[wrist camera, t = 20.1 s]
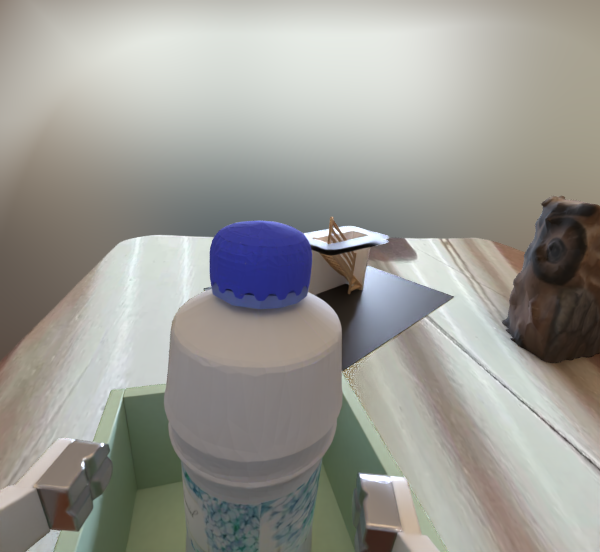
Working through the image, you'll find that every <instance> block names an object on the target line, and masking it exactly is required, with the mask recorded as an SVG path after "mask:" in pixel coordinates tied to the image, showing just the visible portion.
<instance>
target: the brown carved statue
mask: <svg viewBox="0 0 600 552" xmlns="http://www.w3.org/2000/svg"><path fill="white" fill-rule="evenodd" d="M542 206H543V211H542V214H541V216H540V217H539V219H538V220H537V222H536V224H535V225H536V226H535V227H536V233H535V237H534V240H533V241H532V243H530V245H529V247H528V249H527V251H526V252H525V255H524V264H523V269H522V271H521V272H520V273H519V274H518V275H517V276H516V278H515V279H514V282H513V285H514V288H513V290H512V292H511V295H510V300H509V302H510V307H509V312H508V318H507V319H506V320H504V321H503V322H502V323H503V324H504V325H505V326H507V327H508V328H509V329H507V330H506V331H507V332H509V333H510V334H511V335H512V337H513V338H511V340H512V341H514V342H516V343H517V344H518V345H519V346H520V347H522V348H524V349H526V350H528V351H530V352H532V353H533V354H535V355H536V356H538V357H539V358H540V359H541V360H543V361H546V362H550V363H557V362H561V361H563V360H565V359H567V360H573V359H574V358H579V357H592V356H594V355H595V354H599V353H600V206H599V205H596V204H589V203H584V202H581V201H577V200H566V199H565V197H564V196H560V197H556V196H552V197H549V198H548V199H546V200H545V201H544V202H543V203H542Z"/></svg>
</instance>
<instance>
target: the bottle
mask: <svg viewBox="0 0 600 552" xmlns="http://www.w3.org/2000/svg"><path fill="white" fill-rule="evenodd" d="M311 269H312V249H311V245H310V243H309V241H308V239H307V238H306V236H305V235H304V234H303V233H302V232H300V231H298V230H297V229H295V228H293V227H291V226H288V225H285V224H281V223H277V222H272V221H245V222H238V223H233V224H231V225H228V226H226V227H225V228H222V229H221V230H220V231H219V232H218V233H217V234H216V235H215V237H214V239H213V240H212V244H211V247H210V280H211V286H212V289H210V290H207V291H204V292H201V293H200V294H198V295H196V296H194V297H193V298H191V299H189V300H188V301H187V302H186V303H185V304H184V305H183V306H182V307H180V308H179V310H178V311H177V313H176V315H175V316H174V319H173V321H172V327H171V334H170V349H169V364H168V374H167V383H166V389H165V394H164V407H165V412H166V415H167V419H168V421H169V423H168V428H169V437H170V440H171V443H172V446H173V448H174V450H175V452H176V454H177V455H178V456H179V458H180V459H181V467H182V480H183V493H184V506H185V519H186V529H187V533H186V552H311V544H312V522H313V517H314V510H315V504H316V497H317V491H318V484H319V478H320V471H321V465H322V458H323V456H324V454H325V453H326V451H327V450H328V448H329V446H330V445H331V443H332V441H333V438H334V435H335V431H336V426H337V418H338V416H339V413H340V410H341V407H342V395H343V392H342V328H341V324H340V321H339V318H338V316H337V314H336V313H335V311H334V310H333V309H332V308H331V307H330V306H329V305H328V304H327V303H326V302H325V301H323V300H322V299H320V298H318V297H317V296H315V295H313V294H311V293H309V292H308V289H309V284H310V278H311Z"/></svg>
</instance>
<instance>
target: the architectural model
mask: <svg viewBox="0 0 600 552" xmlns="http://www.w3.org/2000/svg"><path fill="white" fill-rule="evenodd" d="M333 225H334V227H335V228H332V226H333ZM303 234H304V235H305V236H306V238H307V239H308V241H309V243H310V245H311V249H312V269H311V278H310V284H309V289H308V292H309V293H311V294H313V295H315V296H317V297H318V298H320V299H322V300H323V301H325V302H326V303H327V304H328V305H329V306H330V307H331V308H332V309H333V310H334V311H335V313H336V314H337V316H338V318H339V321H340V324H341V328H342V370H344V369H345V368H347V367H349V366H350V365H352V364H353V363H355V362H356V361H358V360H359V359H361V358H362V357H364V356H365V355H367V354H368V353H370V352H371V351H373V350H374V349H376V348H377V347H379V346H380V345H382V344H383V343H385V342H386V341H388V340H389V339H391V338H392V337H394V336H395V335H397V334H398V333H400V332H401V331H403V330H404V329H406V328H407V327H409V326H410V325H412V324H414V323H415V322H417V321H418V320H420V319H421V318H423V317H424V316H426V315H427V314H429V313H430V312H432V311H433V310H435V309H436V308H438V307H439V306H441V305H442V304H444V303H445V302H447V301H448V300H450V299H451V298H453V297H454V296H451V295H448V294H445V293H443V292H440V291H437V290H434V289H431V288H429V287H426V286H423V285H420V284H417V283H415V282H412V281H409V280H406V279H404V278H401V277H398V276H395V275H392V274H390V273H387V272H384V271H381V270H378V269H376V268H373V267H370V266H367V263H368V257H369V252H370V247H372V246H376V245H380V244H383V243H387V242H388V241H387V240H384V239H386V238H389V236H387V235H383V234H379V233H376V232H372V231H369V230H365V229H361V228H358V227H353V226H344V227H338V226H337V225H336V223H335V222H334V220H333V217H331V218H330V226H329V229H327V230H321V231H315V232H309V233H303ZM210 289H212V287H208V288H204V290H206V291H207V290H210Z"/></svg>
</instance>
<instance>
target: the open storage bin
mask: <svg viewBox="0 0 600 552" xmlns="http://www.w3.org/2000/svg"><path fill="white" fill-rule="evenodd" d="M165 389H166V384H159V385H150V386H141V387H132V388H126V389H117V390H111V392H110V395H109V398H108V400H107V403H106V406H105V409H104V412H103V414H102V417H101V420H100V423H99V426H98V428H97V431H96V434H95V437H94V440H93V442H98V443H105V444H109V448H110V452H109V454H108V455H107V456H108V457H109V458H110V459H111V460H112V463H113V473H112V476H111V479H110V482H109V484H108V486H107V488H106V489H105V491H104V493H103V494H102V495H100V496H99V497H98V498H96V499H95V500H93V510H92V512H91V513H90V515H89V516H88V518H87V519H86V521H85V523H84V524H83V526H82V527H81V529H80V530H79V532H74V531H63V530H61V532H60V535H59V537H58V540H57V543H56V546H55V548H54V551H53V552H186V533H187V529H186V519H185V506H184V493H183V480H182V467H181V459H180V458H179V456H178V455H177V454H176V452H175V450H174V448H173V446H172V443H171V440H170V437H169V428H168V423H169V421H168V419H167V415H166V412H165V407H164V394H165ZM342 392H343V395H342V407H341V410H340V413H339V416H338V418H337V426H336V431H335V435H334V438H333V441H332V443H331V445H330V446H329V448H328V450H327V451H326V453H325V454H324V456H323V458H322V465H321V471H320V478H319V484H318V491H317V497H316V504H315V510H314V517H313V522H312V544H311V552H355V545H354V538H355V534H356V528H355V527H354V525H353V521H352V497H353V491H354V489H355V488H357V487H356V477H357V474H358V472H361V473H371V474H381V475H389V476H395V477H404V476H403V474H402V472H401V471H400V469H399V467H398V466H397V464H396V462H395V461H394V459H393V457H392V455H391V454H390V452H389V450H388V449H387V447H386V445H385V444H384V442H383V440H382V439H381V437H380V435H379V434H378V432H377V430H376V429H375V427H374V425H373V423H372V422H371V420H370V418H369V417H368V415H367V413H366V412H365V410H364V408H363V407H362V405H361V403H360V402H359V400H358V398H357V397H356V395H355V393H354V391H353V390H352V388H351V386H350V385H349V383H348V381H347V380H346V378H345V376H344V375H343V373H342ZM404 478H405V477H404ZM409 487H410V486H409ZM410 491H411V495H412V499H413V502H414V506H415V510H416V514H417V518H418V521H419V525H420V529H421V533H422V535H427V536H428V537H429V539H430V540H431V541H432V542H433V544H434V545H435V546H436V547H437V549H438V550H439V551H440V552H449V551H448V550H447V548H446V546H445V545H444V543H443V541H442V540H441V538H440V536H439V535H438V533H437V531H436V530H435V528H434V526H433V525H432V523H431V521H430V519H429V518H428V516H427V514H426V513H425V511H424V509H423V508H422V506H421V504H420V503H419V501H418V499H417V498H416V496H415V494H414V493H413V491H412V489H411V487H410Z"/></svg>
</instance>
